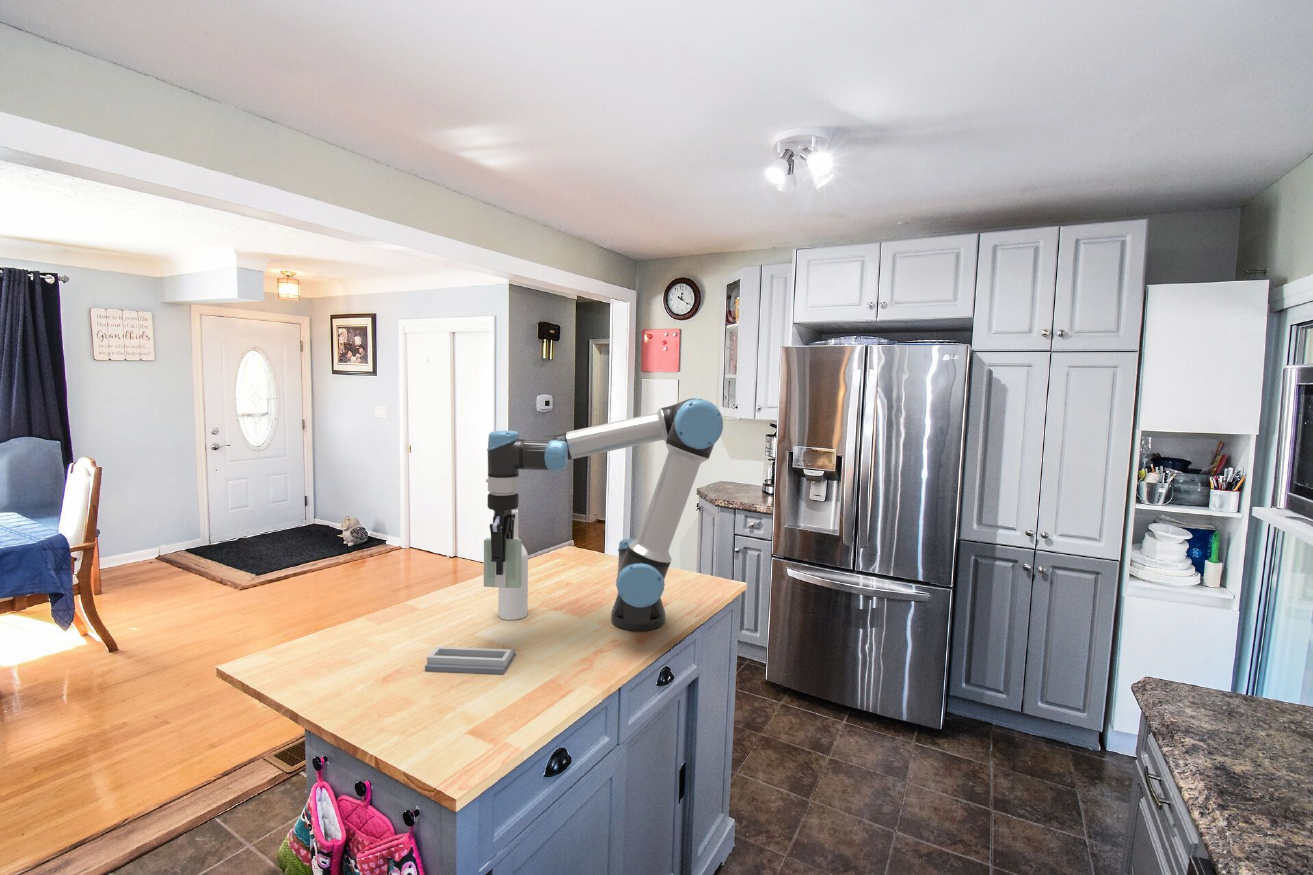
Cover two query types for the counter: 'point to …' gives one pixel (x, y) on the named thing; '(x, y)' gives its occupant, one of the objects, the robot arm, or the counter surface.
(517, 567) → the door panel
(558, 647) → the counter surface
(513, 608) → the bottle
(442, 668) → the base
